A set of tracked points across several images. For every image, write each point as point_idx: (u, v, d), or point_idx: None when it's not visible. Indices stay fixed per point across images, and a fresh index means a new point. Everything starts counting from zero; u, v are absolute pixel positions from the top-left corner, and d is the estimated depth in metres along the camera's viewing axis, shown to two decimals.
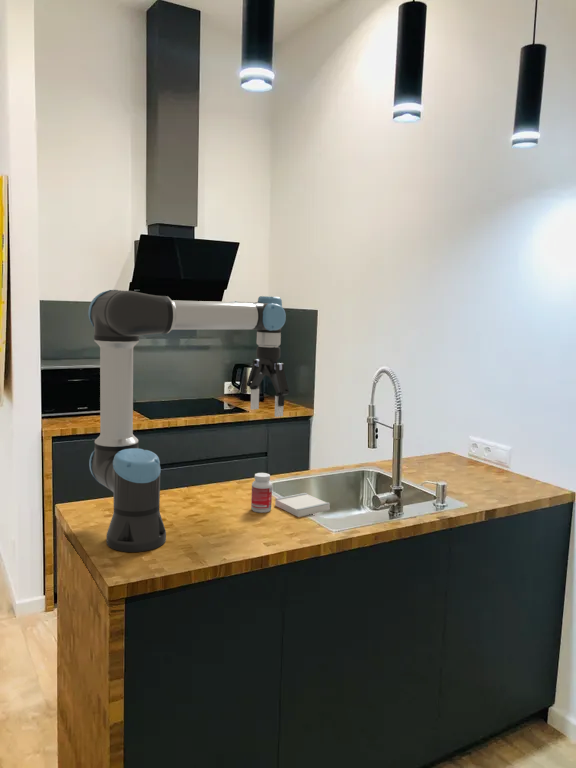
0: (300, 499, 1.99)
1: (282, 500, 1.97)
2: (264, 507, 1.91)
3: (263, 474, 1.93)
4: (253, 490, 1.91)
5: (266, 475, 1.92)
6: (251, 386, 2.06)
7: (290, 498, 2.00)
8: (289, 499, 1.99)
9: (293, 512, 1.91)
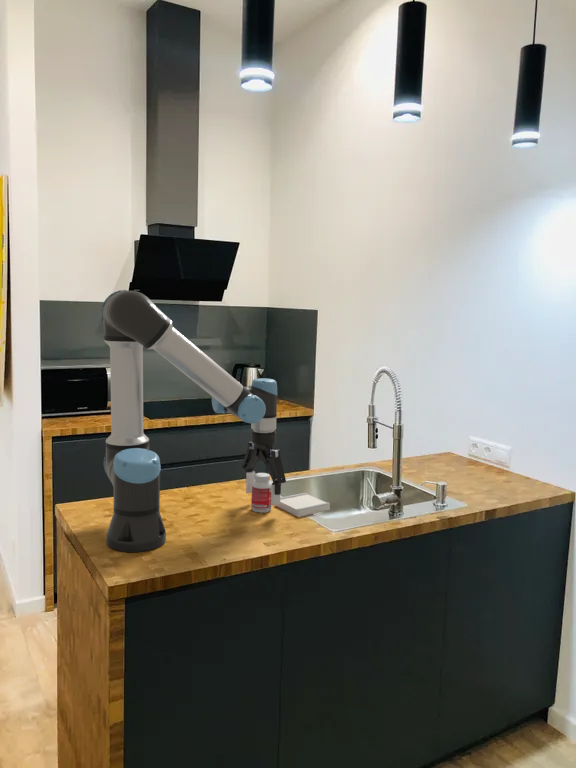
0: (300, 499, 1.99)
1: (282, 500, 1.97)
2: (264, 507, 1.91)
3: (263, 474, 1.93)
4: (253, 490, 1.91)
5: (266, 475, 1.92)
6: (246, 469, 1.98)
7: (290, 498, 2.00)
8: (289, 499, 1.99)
9: (293, 512, 1.91)
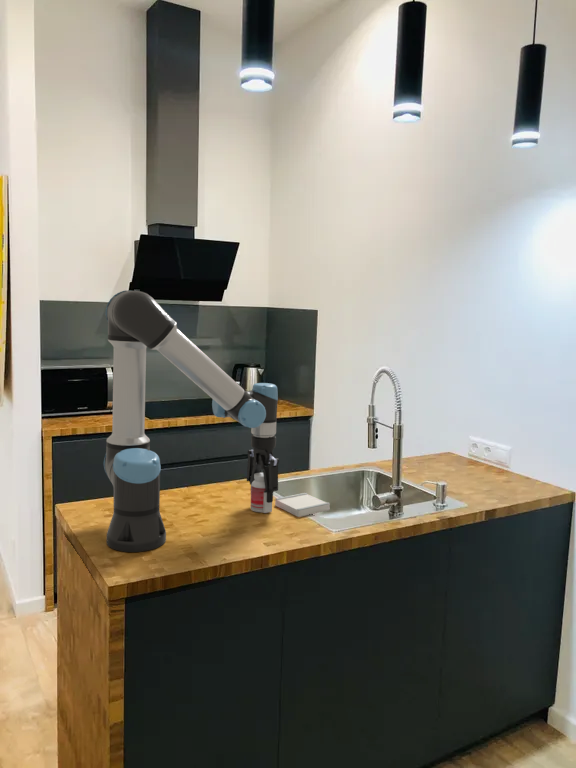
0: (300, 499, 1.99)
1: (282, 500, 1.97)
2: None
3: None
4: (252, 490, 1.91)
5: None
6: (251, 481, 1.95)
7: (290, 498, 2.00)
8: (289, 499, 1.99)
9: (293, 512, 1.91)
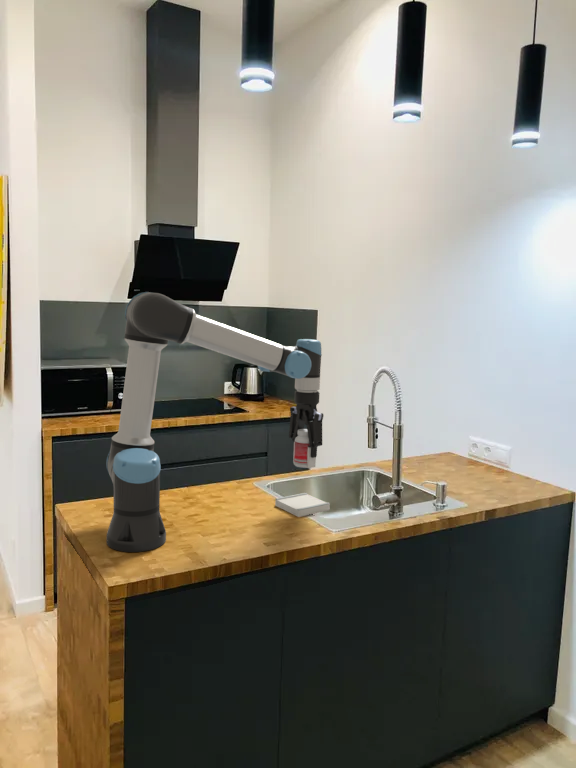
0: (300, 499, 1.99)
1: (282, 500, 1.97)
2: None
3: (306, 430, 1.94)
4: (296, 445, 1.93)
5: None
6: (294, 438, 1.97)
7: (290, 498, 2.00)
8: (289, 499, 1.99)
9: (293, 512, 1.91)
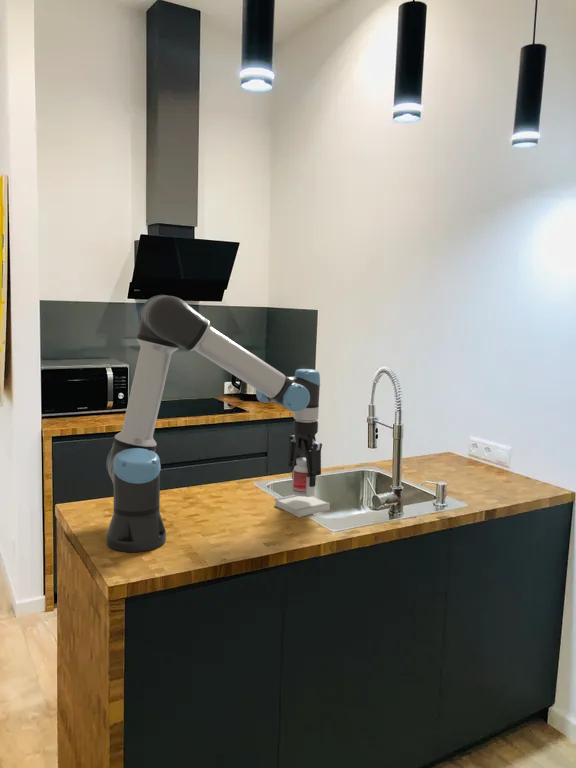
0: (300, 499, 1.99)
1: (282, 500, 1.97)
2: None
3: (305, 459, 1.96)
4: (295, 474, 1.94)
5: None
6: (293, 466, 1.98)
7: (290, 498, 2.00)
8: (289, 499, 1.99)
9: (293, 512, 1.91)
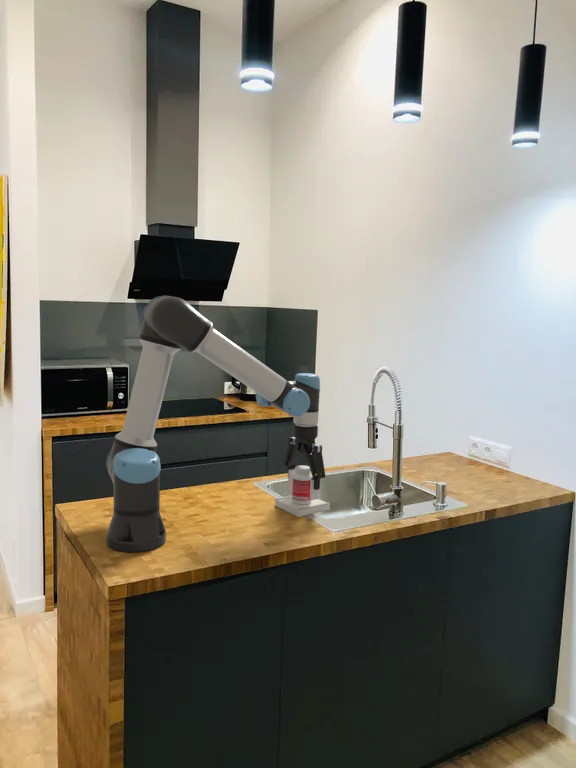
0: None
1: (282, 500, 1.97)
2: (305, 499, 1.94)
3: (304, 466, 1.96)
4: (294, 482, 1.94)
5: (307, 467, 1.95)
6: (288, 466, 2.00)
7: (290, 498, 2.00)
8: (289, 499, 1.99)
9: (293, 512, 1.91)
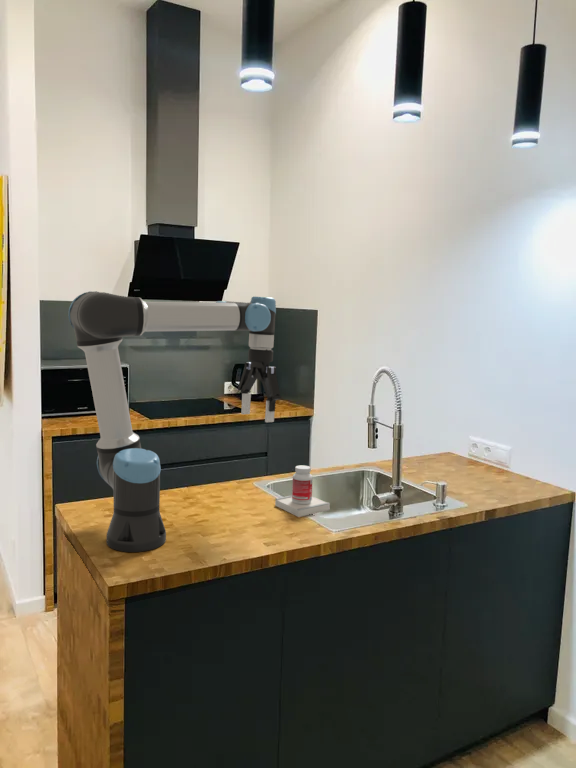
0: None
1: (282, 500, 1.97)
2: (305, 499, 1.94)
3: (304, 466, 1.96)
4: (294, 482, 1.94)
5: (307, 467, 1.95)
6: (242, 390, 1.98)
7: (290, 498, 2.00)
8: (289, 499, 1.99)
9: (293, 512, 1.91)
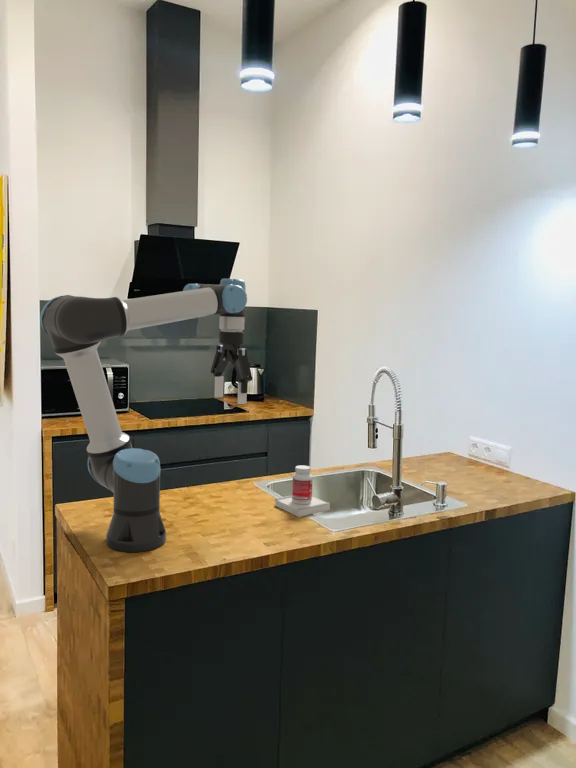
0: None
1: (282, 500, 1.97)
2: (305, 499, 1.94)
3: (304, 466, 1.96)
4: (294, 482, 1.94)
5: (307, 467, 1.95)
6: (215, 373, 1.98)
7: (290, 498, 2.00)
8: (289, 499, 1.99)
9: (293, 512, 1.91)
